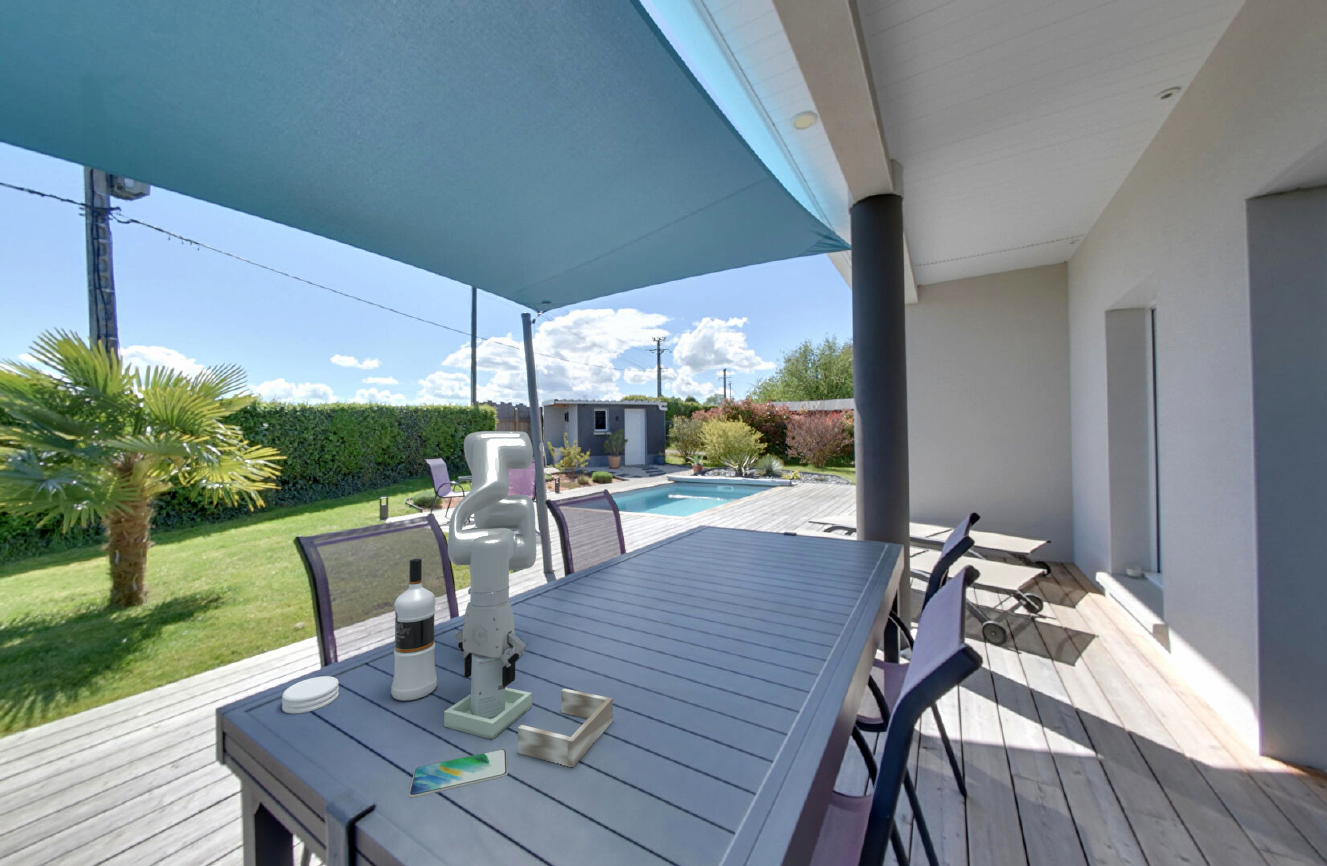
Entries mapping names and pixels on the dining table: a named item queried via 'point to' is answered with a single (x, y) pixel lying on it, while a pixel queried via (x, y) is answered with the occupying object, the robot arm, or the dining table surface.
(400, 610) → the vodka
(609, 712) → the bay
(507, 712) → the tray
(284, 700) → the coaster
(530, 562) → the robot arm
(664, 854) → the dining table surface
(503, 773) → the smartphone
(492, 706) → the skincare box
